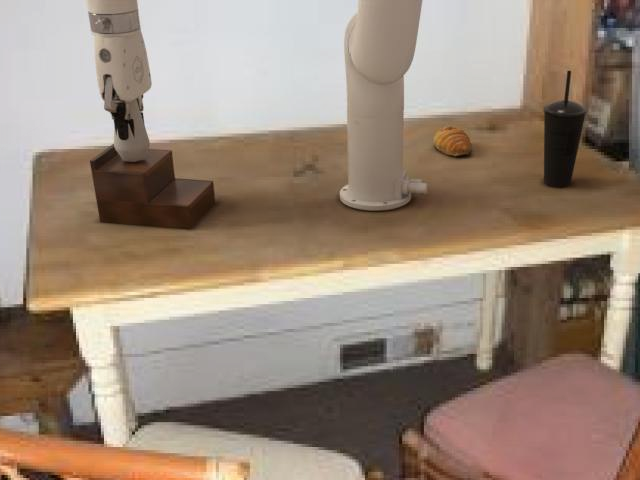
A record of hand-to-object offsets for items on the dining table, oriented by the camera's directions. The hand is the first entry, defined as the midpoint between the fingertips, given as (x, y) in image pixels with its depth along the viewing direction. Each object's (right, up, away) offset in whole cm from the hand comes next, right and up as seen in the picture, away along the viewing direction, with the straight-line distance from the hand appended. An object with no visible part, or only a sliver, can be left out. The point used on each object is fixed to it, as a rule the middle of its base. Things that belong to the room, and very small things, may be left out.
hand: (131, 138), depth 153 cm
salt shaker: (0, -3, +2) cm, 3 cm away
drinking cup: (+73, -4, +17) cm, 75 cm away
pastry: (+56, +6, +33) cm, 65 cm away
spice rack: (+3, -11, +6) cm, 13 cm away
